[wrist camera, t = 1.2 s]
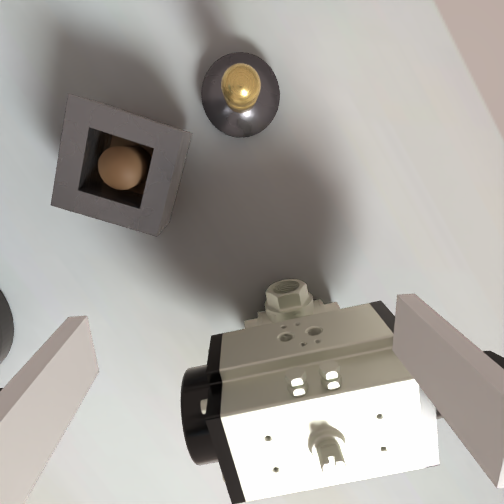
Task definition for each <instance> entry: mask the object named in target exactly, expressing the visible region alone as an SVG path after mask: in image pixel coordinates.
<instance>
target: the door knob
mask: <svg viewBox="0 0 504 504" xmlns="http://www.w3.org/2000/svg"><path fill="white" fill-rule="evenodd" d="M279 100H280V91H279V85H278V81H277V79H276V76H275V74H274V72H273V71H272V69H271V68H270V67H269V66H268V64H267V63H266V62H264V61H263V60H262V59H260V58H259V57H257V56H255V55H252V54H249V53H243V52H237V53H231V54H228V55H226V56H223V57H222V58H220V59H219V60H217V61H216V62H215V63H214V64H213V65H212V66H211V67H210V69H209V70H208V72H207V74H206V76H205V78H204V81H203V85H202V103H203V107H204V110H205V113H206V115H207V117H208V118H209V120H210V121H211V123H212V124H213V125H214V126H215V127H216V128H217V129H219V130H220V131H221V132H223V133H225V134H227V135H230V136H233V137H249V136H252V135H255V134H257V133H259V132H261V131H262V130H264V129H265V128H266V127H267V126H268V125H269V124H270V123H271V121H272V120H273V118H274V116H275V115H276V112H277V110H278V106H279Z"/></svg>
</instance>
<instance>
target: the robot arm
mask: <svg viewBox="0 0 504 504" xmlns="http://www.w3.org/2000/svg"><path fill="white" fill-rule="evenodd" d="M13 336H14V324H13V318H12V314H11V311H10V308H9V306H8V303H7V301H6V299H5V298H4V296H3V294H2V293H1V291H0V364H1V363H2V362H3V360H4V359H5V358H6V356H7V355H8V353H9V351H10V348H11V345H12V342H13ZM392 351H393V352H394V353H395V355H396V356H397V357H398V358H399V360H400V361H401V362H402V364H403V365H404V366H405V368H406V369H407V370H408V372H409V373H410V374H411V376H412V377H413V378H414V380H415V381H416V382H417V384H418V385H419V386H420V388H421V389H422V390H423V391H424V393H425V394H426V395H427V397H428V398H429V399H430V401H431V402H432V403H433V405H434V406H435V407H436V409H437V410H438V411H439V413H440V414H441V415H442V417H443V418H444V419H445V421H446V422H447V423H448V424H449V426H450V427H451V428H452V430H453V431H454V432H455V434H456V435H457V436H458V438H459V439H460V440H461V442H462V443H463V444H464V446H465V447H466V448H467V450H468V451H469V452H470V454H471V455H472V456H473V457H474V459H475V460H476V461H477V463H478V464H479V465H480V467H481V468H482V469H483V471H484V472H485V473H486V475H487V476H488V477H489V479H490V480H491V481H492V483H493V484H494V485H495V487H496V488H504V358H503V357H501V356H499V355H497V354H495V353H493V352H491V351H482V350H480V349H479V348H478V347H477V346H476V345H474V344H473V343H472V342H471V341H470V340H469V339H467V338H466V337H465V336H464V335H463V334H462V333H460V332H459V331H458V330H457V329H456V328H454V327H453V326H452V325H451V324H450V323H449V322H447V321H446V320H445V319H444V318H443V317H442V316H440V315H439V314H438V313H437V312H436V311H434V310H433V309H432V308H431V307H430V306H429V305H427V304H426V303H425V302H424V301H423V300H421V299H420V298H419V297H418V296H417V295H416V294H402V295H397V302H396V313H395V325H394V336H393V347H392ZM98 373H99V368H98V364H97V359H96V354H95V350H94V345H93V340H92V336H91V331H90V326H89V322H88V317H87V316H75V317H68V318H67V319H66V320H65V321H64V322H63V323H62V325H61V326H60V327H59V328H58V329H57V330H56V331H55V332H54V333H53V334H52V335H51V337H50V338H49V339H48V340H47V341H46V342H45V343H44V344H43V345H42V346H41V348H40V349H39V350H38V351H37V352H36V353H35V354H34V355H33V356H32V357H31V358H30V360H29V361H28V362H27V363H26V364H25V365H24V366H23V367H22V368H21V369H20V370H19V372H18V373H17V374H16V375H15V376H14V377H13V378H12V379H11V380H10V381H9V382H8V384H7V385H6V386H5V387H4V388H0V504H24V503H25V501H26V500H27V498H28V496H29V494H30V493H31V491H32V489H33V487H34V486H35V484H36V482H37V480H38V479H39V477H40V475H41V473H42V471H43V470H44V468H45V466H46V464H47V463H48V461H49V459H50V457H51V456H52V454H53V452H54V450H55V449H56V447H57V445H58V443H59V442H60V440H61V438H62V436H63V435H64V433H65V431H66V429H67V427H68V426H69V424H70V422H71V420H72V419H73V417H74V415H75V413H76V412H77V410H78V408H79V406H80V405H81V403H82V401H83V399H84V398H85V396H86V394H87V392H88V391H89V389H90V387H91V385H92V383H93V382H94V380H95V378H96V376H97V375H98Z"/></svg>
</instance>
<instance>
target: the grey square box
mask: <svg viewBox="0 0 504 504" xmlns="http://www.w3.org/2000/svg"><path fill="white" fill-rule="evenodd" d="M112 135H115V136H118V137H121V138H124V139H127V140H130V141H133V142H136V143H139V144H143V145H146V146H149V147H152V148H154V151H153V155H152V159H151V164H150V168H149V172H148V177H147V181H146V185H145V189H144V194H143V195H142V194H139V193H136V192H133V191H129V190H118V189H114V188H112V187H110V186H109V185H107V184H106V183H103V179H102V178H101V176H100V173H99V170H98V162H99V158H100V156H101V154H102V153H103V152H104V151H105V150H107V149H108V148H110V145H111V140H112ZM191 137H192V133H190V132H187V131H184V130H181V129H178V128H175V127H172V126H169V125H166V124H163V123H160V122H157V121H154V120H151V119H148V118H145V117H142V116H139V115H136V114H134V113H131V112H128V111H125V110H122V109H119V108H116V107H113V106H110V105H107V104H104V103H101V102H98V101H94V100H91V99H87V98H83V97H79V96H76V95H72V94H68V98H67V105H66V111H65V117H64V124H63V130H62V136H61V143H60V149H59V156H58V162H57V168H56V175H55V181H54V187H53V194H52V200H51V206H55V207H58V208H62V209H65V210H68V211H72V212H75V213H79V214H82V215H85V216H89V217H92V218H96V219H99V220H102V221H106V222H109V223H113V224H116V225H119V226H123V227H126V228H129V229H133V230H136V231H140V232H143V233H146V234H150V235H153V236H158V235H159V234H160V232H161V231H162V230H163V229H164V228H165V227H166V225H167V224H168V223H169V221H170V218H171V214H172V210H173V206H174V202H175V198H176V195H177V191H178V187H179V183H180V179H181V175H182V172H183V168H184V164H185V160H186V156H187V152H188V149H189V145H190V141H191Z"/></svg>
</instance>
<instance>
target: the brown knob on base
mask: <svg viewBox="0 0 504 504" xmlns="http://www.w3.org/2000/svg"><path fill="white" fill-rule="evenodd" d="M153 151H154V148H152V147H149V146H146V145H143V144H139V143H136V142H133V141H130V140H127V139H124V138H121V137H118V136H115V135H112V140H111V145H110V148H108V149H107V150H105V151H104V152H103V153H102V154H101V156H100V158H99V162H98V170H99V173H100V176H101V178H102V179H103V183H106V184H107V185H109V186H110V187H112V188H114V189H118V190H129V191H133V192H136V193H139V194H142V195H143V194H144V189H145V185H146V181H147V177H148V172H149V168H150V164H151V159H152V155H153Z"/></svg>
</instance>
